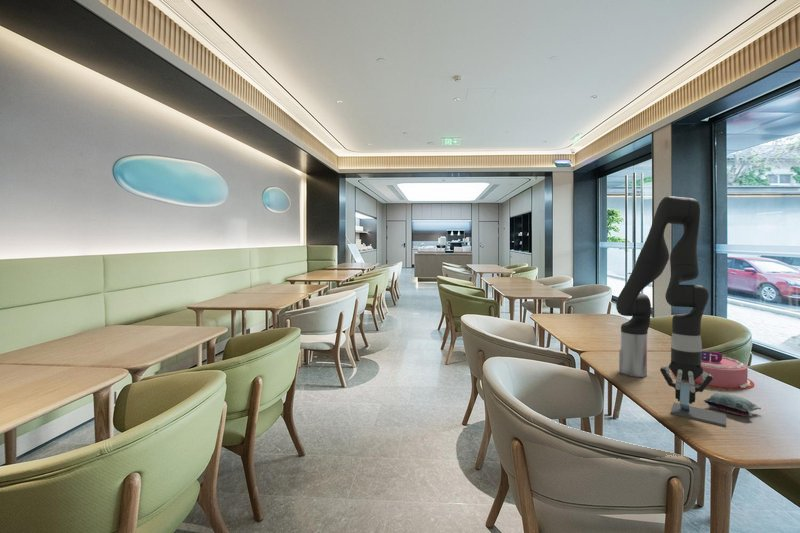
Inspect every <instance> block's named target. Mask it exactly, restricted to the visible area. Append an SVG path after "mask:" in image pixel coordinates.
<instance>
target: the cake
mask: <svg viewBox="0 0 800 533" xmlns="http://www.w3.org/2000/svg"><path fill="white" fill-rule="evenodd" d="M701 367H702V369H703V371H704V372H706V373H707V374H711V375H712V376H713V379H712V380H711V382H710V383H709V384H708V385H707V387H708V388H709V387H710V388H713V389H714V388H715V389H722V390H732V391H733V390H734V391H735V390H736V391H738V390H739V391H742V390H743V391H744V390H750V389H753V388H754V387H755V383H754V381H752V380H751V379H749V378H748V371H749V370H748V366H747V365H746V364H745V363H743V362H741V361H739V360H738V359H734V358H731V357H728V356H723V355H722V354H721V353H720V352H719V351H711V352H710V350H709V351H708V350H701ZM670 372H671V374H672V375H673V376H675V375H674V373H673V372H672V371H670ZM685 382H689V381H688V380H685ZM702 382H703V375H702V374H701V375H700V376H699V377H698V378H697V379H696V380H695V385H698V386H699V385H700V384H701V383H702Z"/></svg>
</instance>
